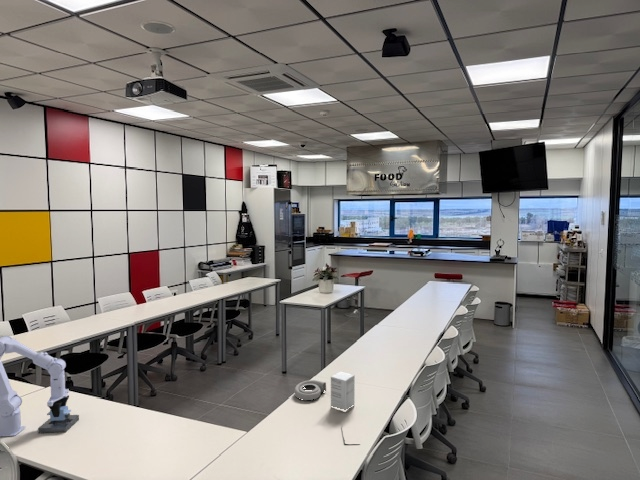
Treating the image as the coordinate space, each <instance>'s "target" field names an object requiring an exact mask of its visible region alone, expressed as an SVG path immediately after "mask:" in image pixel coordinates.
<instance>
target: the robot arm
mask: <svg viewBox="0 0 640 480" xmlns="http://www.w3.org/2000/svg"><path fill="white" fill-rule="evenodd" d="M12 353H16V354H18V355H21V356H23V357H25V358H28V359H30V360H32V364H34V365H36V366H38V367H40V368H42V369H43V370H46V371H47V373H48V374H49V375H50V398H49V400H48V401H47V403H46V406H47V407H48V408H49V410H51V411H52V414H53V417H59V413H60V406H67V402H68V400H69V399H70V395H69V393H70V392H69V391H70V390H69V388H66V379H65V377H66V375H65V368H66V367H67V363H66V360H64V359H63V358H57V357H53V356H51V355H50V354H48V352H46V351H45V352H43V351H41V352H37V351H35V350H34V349H31V348H30V347H28V346H26V345H24V344H23V343H21V342H20V341H18V340H17V338H14V337H11V336H10V335H2V336H0V437H16V436H17V435H18V434H20V432H22V431H23V430H24V429H26V425H23V426H22V420H21V408H20V407H21V406H22V404H23V399H22V397H21V396H20V395H18V392H17V391H15V390H13V387H12V385H11V383H10V380H9V377H8V375H7V372H6V369H5V367H4V364H3V362H2V360H1V359H2V357H3V356H4V355H7V354H12Z"/></svg>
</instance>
